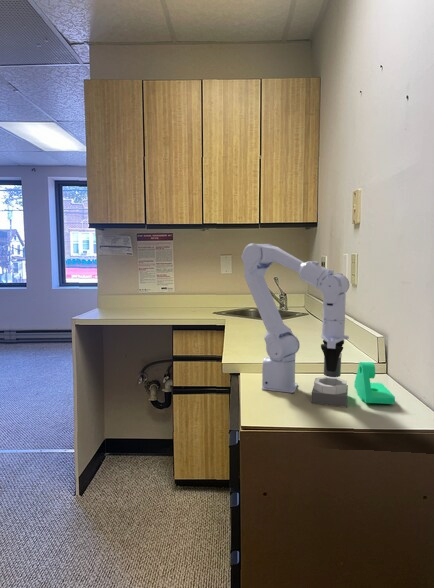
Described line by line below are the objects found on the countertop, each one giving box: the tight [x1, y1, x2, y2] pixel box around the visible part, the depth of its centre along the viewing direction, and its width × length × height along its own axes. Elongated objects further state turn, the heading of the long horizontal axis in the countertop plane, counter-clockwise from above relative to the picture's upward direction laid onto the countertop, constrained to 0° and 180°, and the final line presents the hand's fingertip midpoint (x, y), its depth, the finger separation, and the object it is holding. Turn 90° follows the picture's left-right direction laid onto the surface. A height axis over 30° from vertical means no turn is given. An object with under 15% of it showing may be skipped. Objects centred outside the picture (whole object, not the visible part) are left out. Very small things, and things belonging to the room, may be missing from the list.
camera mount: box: [353, 361, 396, 405], centre depth 108 cm, size 12×8×10 cm, turn 174°
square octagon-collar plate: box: [311, 376, 349, 408], centre depth 108 cm, size 9×9×5 cm
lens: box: [323, 352, 342, 378], centre depth 107 cm, size 5×5×6 cm
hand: (332, 368), depth 107 cm, fingers closed on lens, 4 cm apart
